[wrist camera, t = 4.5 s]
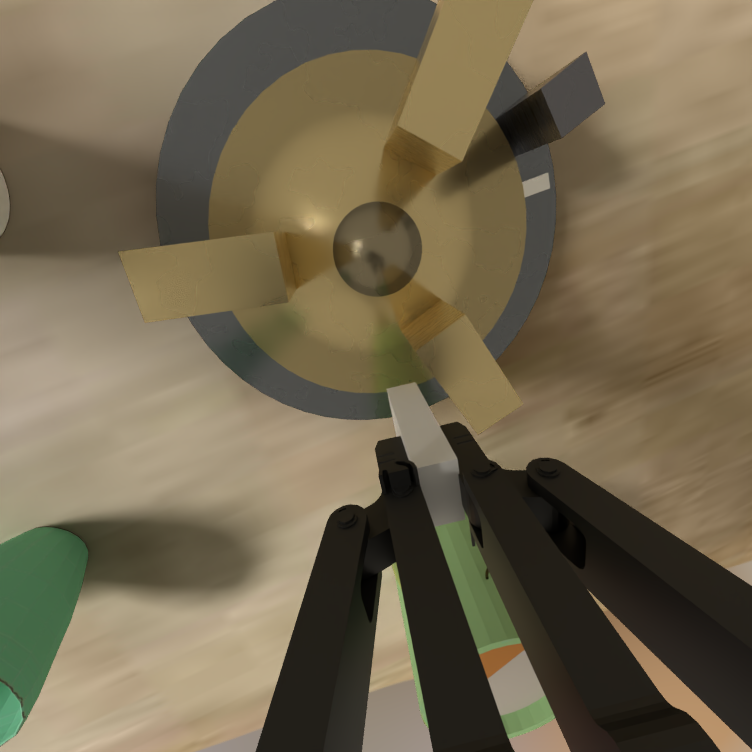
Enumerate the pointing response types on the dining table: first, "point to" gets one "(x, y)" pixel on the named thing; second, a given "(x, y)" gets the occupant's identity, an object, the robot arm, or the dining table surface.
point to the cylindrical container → (3, 204)
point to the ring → (288, 51)
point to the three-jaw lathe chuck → (367, 218)
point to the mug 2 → (488, 635)
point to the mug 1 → (34, 614)
